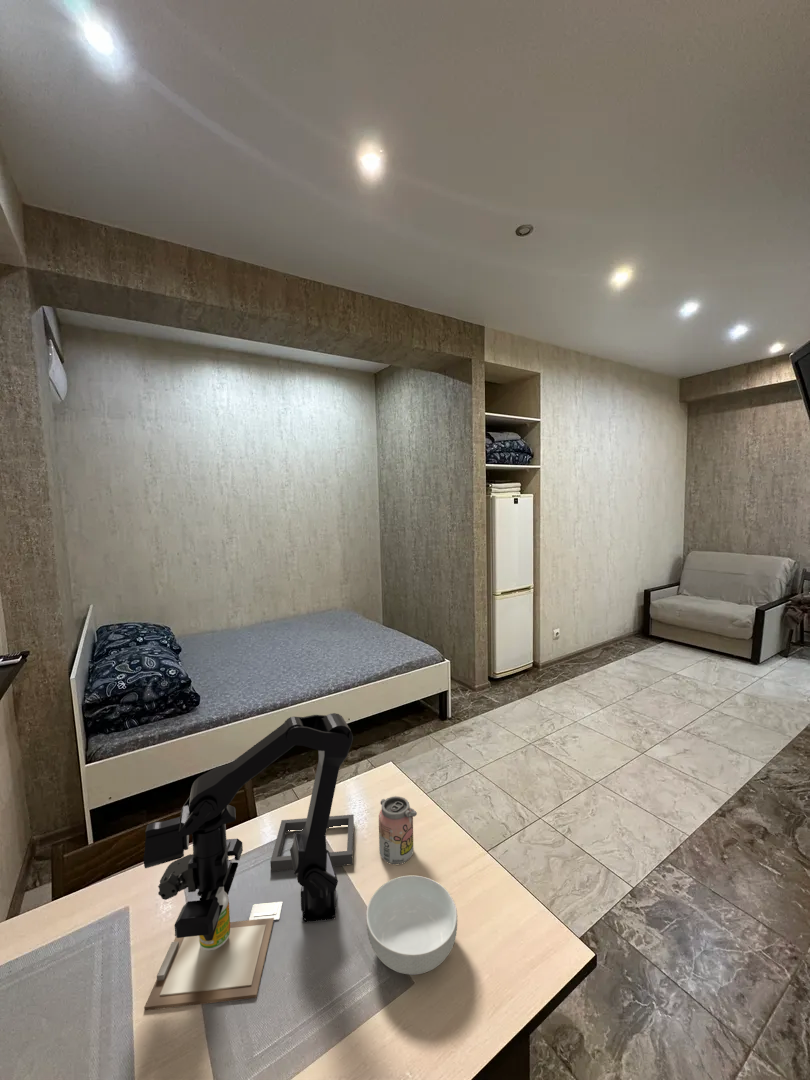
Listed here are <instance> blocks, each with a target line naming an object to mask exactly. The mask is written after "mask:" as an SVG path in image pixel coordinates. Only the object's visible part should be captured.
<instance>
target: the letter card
mask: <svg viewBox="0 0 810 1080" xmlns="http://www.w3.org/2000/svg"><path fill="white" fill-rule="evenodd" d="M282 908H283V901H274V902H265V903H254V904H252V908H251V911H250V914H249V918H248V920H257V919H267V918H274V922H275V921H280V917H281V912H282Z"/></svg>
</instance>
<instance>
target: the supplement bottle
mask: <svg viewBox="0 0 810 1080" xmlns="http://www.w3.org/2000/svg"><path fill="white" fill-rule="evenodd" d="M216 897H217V898H218V903H219V905H223V908H222V911H221V915H220V918H219V921H218V924H217V927H216V930H215V933H214V936H213V939H212V940H211V941H206V940H205V938H204V936H203V935H200V936H199V942H200V946H201V948H202V949H204V950H208V951H210V950H215V949H217V948H219V947H221V946H222V945H223V944H224V943H225V942H226V941H227V939H228V937H229V935H230V922H231V917H230V897H229V894H227V893H226V892H225V891H224V887H220V888H219V890H218V893H217V895H216Z"/></svg>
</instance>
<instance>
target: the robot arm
mask: <svg viewBox="0 0 810 1080" xmlns="http://www.w3.org/2000/svg"><path fill="white" fill-rule="evenodd" d="M353 739H354V735H353V732H352V730H351V728H350V726H349V725H348V724H347V721H346V720H345V719H344V716H343V715H341V714H339V713H335V712H334V713H328V714H326V715H325V714H324V715H323V714H312V715H307V716H303V717H302V716H290V717H288V718H287V719H286V720H285V721H284V722H283V723H282V724H281V725H280V726H278V727H276V729H274V730H273V731H272V732H270V733H268V734H267V735H266V736H265V737H264V738H262V739H261V740H260V741H258V742H256V744H254V745H253V746H251V747H250V748H249V749H247V750H246V751H245V752H244V753H242V754H241V755H240V756H238V757H237V758H235V759H234V760H233V761H231V762H229V763H227V764H225V765H220V766H216V767H214V768H212V769H211V770H209V771H207V772H205V773H203V774H201V775H200V776H198V777H197V778H196V779H195V780H194V781H193V783H192V785H191V788H190V795H189V797H188V798H187V800H186V801H185V803H184V804H183V806H182V807H181V812H180V816H179V817H174V818H171V819H170V818H169V819H166V820H164V821H163V820H162V821H155V822H152V823H148V824H147V825H146V829H145V841H144V842H145V843H144V852H143V857H142V858H143V866H144V869H149V868H152V867H155V866H160V865H163V864H166V863H170V862H171V863H170V864H169V865H168V866H167V867H166V869H165V870H164V872H163V875H162V876H161V878H160V880H159V885H158V886H157V887H158V889H159V891H158V894H157V895H159V896H160V897H161V899H162V900H163V901H165V900H169V899H171V898H173V897H176V896H177V895H178V893H179V892H181V891H184V890H185V889H187V892H188V893H195V892H197V897H200V898H199V900H198V899H197V900H191V901H189V900H188V901H187V902H186V903H184V905H183V906H182V907H181V910H180V912H179V914H178V916H177V919H176V921H175V922H174V935H175V937H177V938H182V937H191V936H200V935H203V936H204V938H205V940H206V941H211V940H212V939H213V936H214V933H215V930H216V927H217V924H218V921H219V918H220V915H221V911H222V908H223V905H219V903H218V898H217V897H216V895H217V893H218V890H219V888H220V887H224V891H225V892H226V893H227V894H228V895H229V894H230V891H231V890H230V889H231V888H232V884H233V881H234V879H235V875H236V872H237V869H238V866H239V862H235V861H240V859H241V856H242V854H243V851H244V850H243V846H244V845H243V842H242V841H241V840H240V839H239V838H238V837H237V838H228V839H227V827H226V825H227V824H230V823H234V822H235V821H236V820H237V819H236V818H237V816H236V807H235V806H232V805H230V804H231V802H232V801H233V800H234V798H235V796H236V795H237V794H238V793H239V790H241V789H242V787H243V786H244V785H245V784H247V783H248V782H249V781H250V780H252V779H253V778H254V777H256V776H258V774H260V773H261V772H262V771H264V770H265V769H266V768H267V767H269V766H270V765H271V764H273V763H274V762H275V761H276V760H277V759H279V758H281V757H282V756H283V755H285V754H286V753H287V752H288V751H289V750H291V749H292V748H294V747H295V746H299V747H305V748H309V749H312V750H316V751H317V752H318V762H317V767H316V772H315V776H314V782H313V787H312V791H311V795H310V796H311V797H310V801H309V802H310V803H309V806H308V810H307V811H308V812H307V817H306V818H307V820H306V825H305V828H304V829H303V830H302V831H300V833H299V832H293V842H292V845H291V847H290V849H289V853H290V856H291V859H292V864H293V869H294V870H293V873H294V875H296V880H297V883H298V884H299V885H300V886H301V887H300V888H301V889H300V911H301V912H303V913H302V923H310V922H311V923H312V922H322V921H331V920H332V921H333V920H334V919H336V916H337V915H336V913H337V904H338V903H337V902H338V901H337V900H338V890H337V886H338V882H339V880H338V876H337V874H336V869H335V866H333V863H332V860H331V857H330V854H329V852H330V851H329V849H327V841H326V840H327V839H326V837H327V830H328V829H327V826H328V821H329V816H331V811H332V806H333V800H334V795H335V791H336V786H337V782H338V778H339V777H338V775H339V772H340V771H339V770H340V767H341V765H342V764H343V763H344V762H345V760H346V759H347V758H348V755H349V753H350V749H351V747H352V744H353V741H354V740H353ZM190 835H191V839H192V840H191V841H192V854H188V855H186V856H185V851H188V850H189V846H190V845H189V844H190V843H189V841H190ZM229 857H234V862H232V860H231V859H230V858H229ZM197 890H198V891H197Z"/></svg>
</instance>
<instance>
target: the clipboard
mask: <svg viewBox="0 0 810 1080" xmlns="http://www.w3.org/2000/svg"><path fill="white" fill-rule="evenodd" d="M274 922H275V921H274V918H267V919H257V920H249V919H248V920H240V921H239V920H238V921H230V935H229V937H228V939H227V941H226V942H225V943H224V944H223V945H222V946H221V947H219V948H217V949H215V950H210V951H208V950H204V949H202V948H201V946H200V942H199V936H191V937H182V938H177V937H176V936H175V938H174V940H173V941H172V942H171V943H170V946H169V948H168V950H167V953H166V954H165V957H164V959H163V961H162V964H161V965H160V968H159V969H158V972H157V974H156V980H155V982H154V985H153V986H152V988H151V991H150V994H149V996H148V997H147V1000H146V1003H145V1005H144V1007H143V1010H144V1011H151V1010H152V1011H153V1010H154V1011H155V1010H161V1009H162V1010H163V1009H169V1008H179V1007H189V1006H197V1005H204V1004H205V1005H207V1004H214V1003H224V1002H232V1001H241V1000H250V999H257V997H258V993H259V989H260V985H261V979H262V976H263V971H264V966H265V962H266V958H267V952H268V949H269V945H270V944H269V943H270V940H271V936H272V932H273V927H274Z"/></svg>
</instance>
